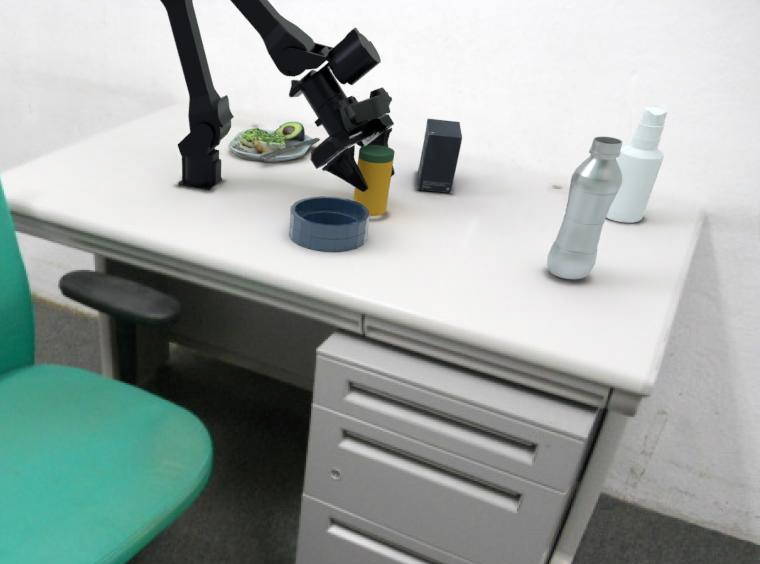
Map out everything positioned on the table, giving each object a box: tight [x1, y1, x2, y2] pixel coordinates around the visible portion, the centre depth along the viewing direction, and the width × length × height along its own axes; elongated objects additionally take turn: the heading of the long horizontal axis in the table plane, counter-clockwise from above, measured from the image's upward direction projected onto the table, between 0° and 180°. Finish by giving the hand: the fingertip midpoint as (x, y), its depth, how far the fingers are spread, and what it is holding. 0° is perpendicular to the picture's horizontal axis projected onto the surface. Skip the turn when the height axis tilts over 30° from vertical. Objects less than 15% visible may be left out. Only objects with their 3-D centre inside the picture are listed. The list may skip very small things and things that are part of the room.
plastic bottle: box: [546, 136, 623, 280], centre depth 110 cm, size 6×7×20 cm
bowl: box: [288, 195, 371, 253], centre depth 123 cm, size 12×12×5 cm
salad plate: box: [227, 121, 321, 163], centre depth 159 cm, size 19×18×5 cm
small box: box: [416, 118, 463, 194], centre depth 144 cm, size 11×6×10 cm, turn 168°
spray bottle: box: [605, 106, 669, 223], centre depth 130 cm, size 7×7×18 cm
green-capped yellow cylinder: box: [352, 145, 396, 217], centre depth 131 cm, size 6×6×11 cm
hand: (379, 182), depth 130 cm, fingers open, 9 cm apart
